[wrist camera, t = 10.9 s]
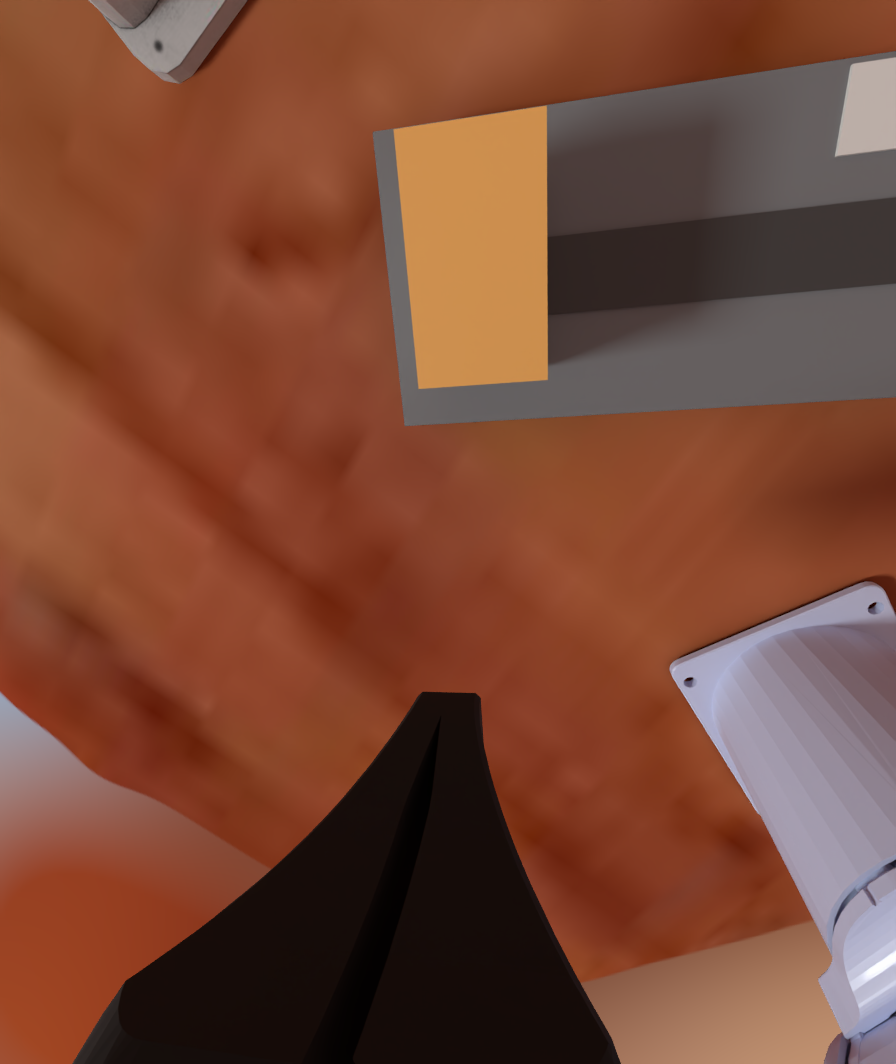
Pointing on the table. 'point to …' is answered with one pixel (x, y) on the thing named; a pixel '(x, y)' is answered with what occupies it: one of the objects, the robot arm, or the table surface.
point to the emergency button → (170, 31)
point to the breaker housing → (700, 249)
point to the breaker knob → (476, 247)
